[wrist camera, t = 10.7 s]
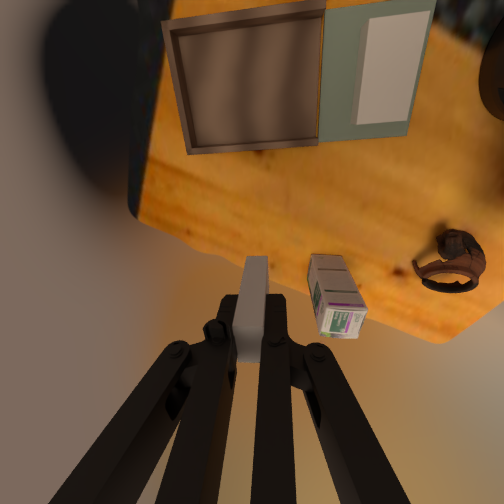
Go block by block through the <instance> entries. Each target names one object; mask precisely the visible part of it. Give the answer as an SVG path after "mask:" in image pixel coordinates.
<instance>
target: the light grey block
mask: <svg viewBox="0 0 504 504" xmlns="http://www.w3.org/2000/svg"><path fill="white" fill-rule="evenodd" d="M429 15H430V11H423V12H415V13H408V14H400V15H392V16H385V17H377V18H370V19H369V20H368V21H367V22H366V23H365V24H364V25H363V26H362V27H361V32H360V41H359V49H358V58H357V67H356V76H355V85H354V94H353V103H352V112H351V121H350V124H355V125H359V124H371V123H383V122H395V121H407V118H408V113H409V108H410V104H411V99H412V94H413V90H414V85H415V80H416V76H417V71H418V66H419V62H420V57H421V52H422V48H423V43H424V38H425V34H426V29H427V24H428V20H429Z"/></svg>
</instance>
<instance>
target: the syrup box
mask: <svg viewBox="0 0 504 504" xmlns="http://www.w3.org/2000/svg"><path fill="white" fill-rule="evenodd" d="M307 281H308V285H309V290H310V294H311V299H312V304H313V309H314V313H315V318H316V322H317V326H318V332H319V335H320V336H325V337H332V338H356V339H357V338H358V335H359V332H360V330H361V327H362V325H363V323H364V320H365V317H366V314H367V311H368V308H367V306H366V304H365V302H364V300H363V298H362V296H361V294H360V292H359V290H358V288H357V286H356V284H355V282H354V280H353V278H352V276H351V274H350V272H349V270H348V268H347V266H346V264H345V262H344V260H343V258H342V256H336V255H318V254H311V258H310V263H309V269H308V275H307Z"/></svg>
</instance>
